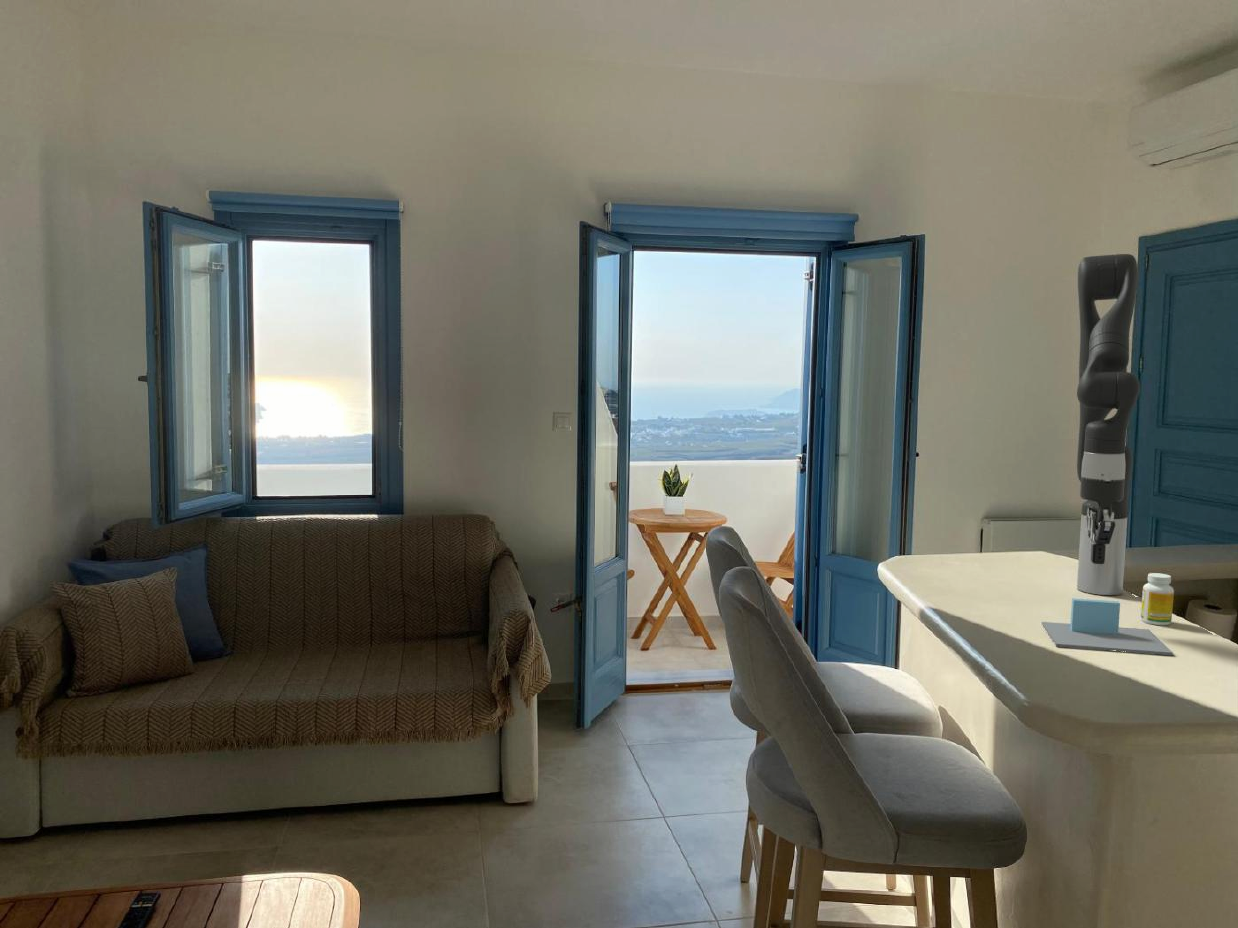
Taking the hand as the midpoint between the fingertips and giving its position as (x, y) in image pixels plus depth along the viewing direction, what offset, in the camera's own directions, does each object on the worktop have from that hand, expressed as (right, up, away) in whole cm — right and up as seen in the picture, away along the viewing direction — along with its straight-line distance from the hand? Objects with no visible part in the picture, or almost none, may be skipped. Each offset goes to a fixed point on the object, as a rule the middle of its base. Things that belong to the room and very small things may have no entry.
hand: (1097, 563), depth 184 cm
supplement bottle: (+14, -12, +4) cm, 19 cm away
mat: (-3, -13, -8) cm, 16 cm away
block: (-3, -13, -5) cm, 14 cm away
